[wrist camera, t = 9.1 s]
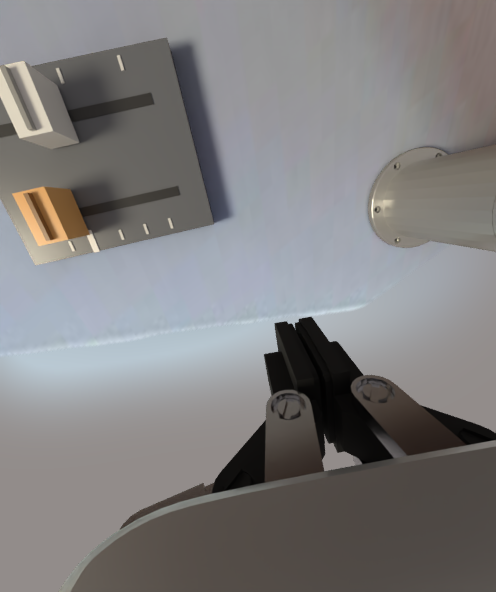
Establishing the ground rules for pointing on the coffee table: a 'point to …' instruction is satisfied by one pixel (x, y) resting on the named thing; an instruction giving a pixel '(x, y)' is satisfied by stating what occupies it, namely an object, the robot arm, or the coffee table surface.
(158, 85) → the console
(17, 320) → the coffee table surface
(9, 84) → the fader white
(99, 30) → the coffee table surface
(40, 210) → the fader orange
